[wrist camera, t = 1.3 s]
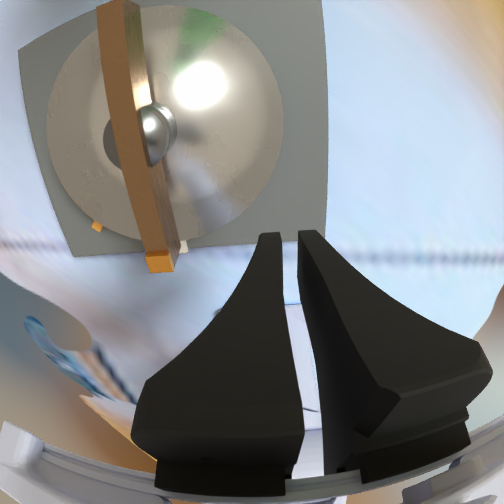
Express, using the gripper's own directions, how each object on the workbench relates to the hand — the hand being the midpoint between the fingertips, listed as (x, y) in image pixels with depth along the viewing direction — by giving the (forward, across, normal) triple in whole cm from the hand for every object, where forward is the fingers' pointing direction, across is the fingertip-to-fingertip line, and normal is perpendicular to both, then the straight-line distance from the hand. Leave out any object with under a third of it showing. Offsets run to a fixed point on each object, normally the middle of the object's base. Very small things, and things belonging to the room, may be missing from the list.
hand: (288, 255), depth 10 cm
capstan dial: (+7, +6, -4) cm, 10 cm away
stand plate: (+8, +6, -4) cm, 11 cm away
